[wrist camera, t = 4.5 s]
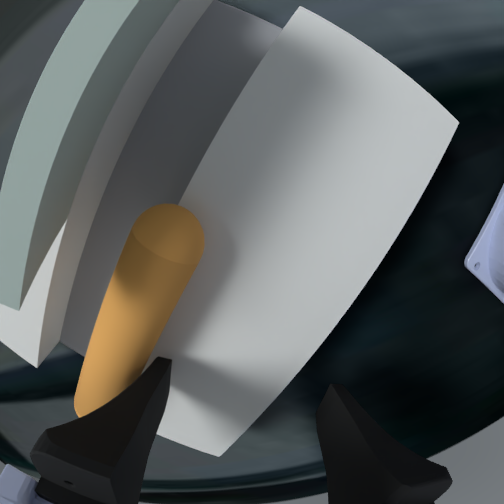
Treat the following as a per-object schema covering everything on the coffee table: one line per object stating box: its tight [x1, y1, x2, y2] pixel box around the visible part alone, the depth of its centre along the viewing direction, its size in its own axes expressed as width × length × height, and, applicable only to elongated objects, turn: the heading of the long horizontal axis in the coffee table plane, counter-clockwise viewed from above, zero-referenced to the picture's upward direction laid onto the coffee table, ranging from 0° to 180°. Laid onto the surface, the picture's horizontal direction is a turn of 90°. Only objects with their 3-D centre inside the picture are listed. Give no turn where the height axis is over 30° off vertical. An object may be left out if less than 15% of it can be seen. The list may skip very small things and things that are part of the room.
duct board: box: [0, 0, 459, 457], centre depth 13 cm, size 15×21×4 cm
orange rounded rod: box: [74, 203, 205, 418], centre depth 11 cm, size 2×12×2 cm
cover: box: [0, 0, 179, 311], centre depth 7 cm, size 6×10×1 cm
